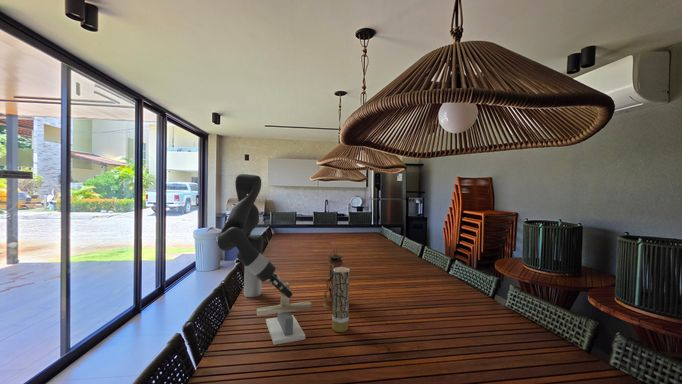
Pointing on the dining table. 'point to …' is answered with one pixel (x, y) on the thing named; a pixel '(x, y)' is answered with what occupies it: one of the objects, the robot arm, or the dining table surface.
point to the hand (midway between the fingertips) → (288, 292)
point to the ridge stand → (284, 328)
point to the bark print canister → (340, 299)
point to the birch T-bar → (283, 305)
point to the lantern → (333, 263)
